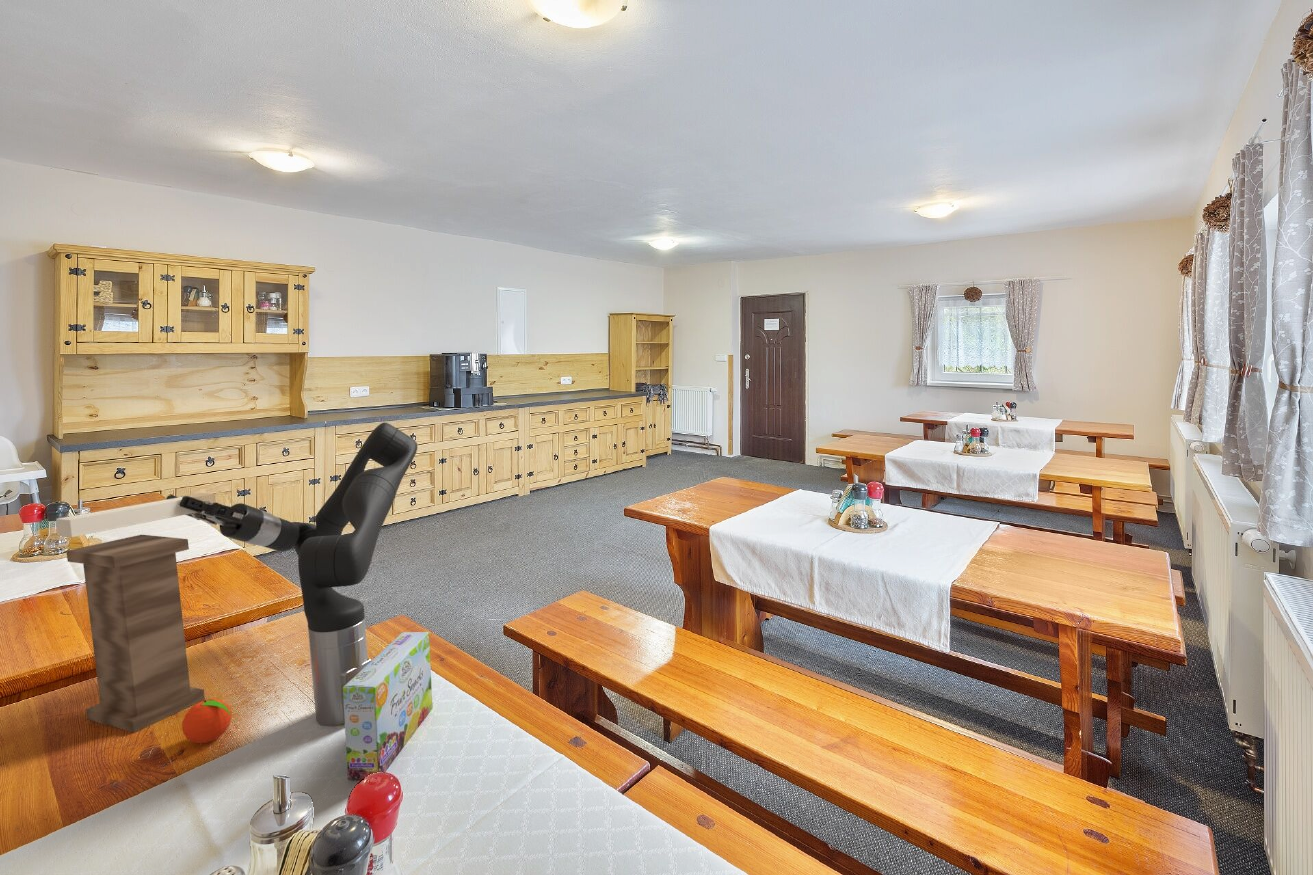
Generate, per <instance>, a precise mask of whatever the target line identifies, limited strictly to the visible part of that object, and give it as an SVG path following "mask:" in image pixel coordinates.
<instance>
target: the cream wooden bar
mask: <svg viewBox="0 0 1313 875" xmlns="http://www.w3.org/2000/svg"><path fill="white" fill-rule="evenodd" d="M184 496H185V495H182V496H181V495H180V496H178V497H179V498H173V499H167V500H166V499H163V500H156V501H151V502H144V503H139V504H133V505H127V506H124V507H123V506H121V507H115V508H110V509H106V510H100V511H95V512H94V511H93V512H89V513H88V512H87V513H83V514H78V515H77V514H76V515H70V516H64V517H60V518H59V517H58V518H55V519H56V527H57V535H58V537H65V538H66V537H67V538H75V537H80V536H81V537H82V536H85V535H91V534H94V533H95V534H97V533H101V532H105V531H110V530H115V529H121V528H126V527H130V526H131V527H132V526H135V525H140V524H145V523H150V522H155V521H156V522H157V521H160V520H165V519H171V518H175V517H180V516H187V515H186V514H191V513H199V512H200V511H199V512H196V511H193V510H190V509H187V508H183V507H181V506H180V502H181V500H182V498H183V497H184ZM186 496H189V497H192V498H195V499H198V500H201V501H209V502H210V503H217V501H216V500H217V499H216V493H212V492H211V493H208V492H200V493H194V494H187V495H186ZM203 503H204V502H203Z"/></svg>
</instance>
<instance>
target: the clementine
mask: <svg viewBox="0 0 1313 875" xmlns="http://www.w3.org/2000/svg"><path fill="white" fill-rule="evenodd" d="M232 715H233V714H232V710H231V708H230V707H229V705H228V704H227V702H225V701H223V700H220V699H216V698H208V699H204V700H202V701H200V702H198V703H196V704H194V705H192V706H191V708H189V710H187V712H186V714H185V715H184V716H183V720H182V723H181V730H182V732H183V733H182V734H183V735H184V736H185V738H186V739H187V740H189V741H191V742H192V743H196V744H206V743H210V742H213V741H215V740H217V739H219V738H220V737H221V736H222V735H223V734H225V732H226V731H227V729H228V728H229V727H230V725H231V723H232Z"/></svg>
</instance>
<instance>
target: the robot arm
mask: <svg viewBox="0 0 1313 875" xmlns="http://www.w3.org/2000/svg"><path fill="white" fill-rule="evenodd" d="M417 452H418V443H417V441H416V440H415V439H414V438H412V437H411V436H410V435H408V434H406V433H405V432H403V431H402V430H400V429H399V428H397V427H396V426H393V425H392V424H390V423H388V422H381V423H380V424H378V425H377V426H376V427H375V428H374V429H373V430H372V432H371V433H370V434H369V436H368V437H367V438H366V439H365V441H364V442H363V444H362V446H361V447H360V448H359V451H357V453H356V455H355V457H354V458H353V460H352V461H351V462H350V465H349V466H348V468H347V469H346V471H345V473H344V475H343V477H342V478H341V480H340V481H339V483H338V485H337V486H336V488H335V489H334V490H333V492H332V494H331V495H330V496H329V497H328V499H327V500H326V501H325V502H324V504H323V505H322V507H320V509H319V510H318V512H317V513H316V515H315V517H314V518H315V521H314V522H315V524H314V523H310V522H299V521H290V520H287V519H284V518H280V517H278V516H275V515H274V514H272V513H270V512H267V511H265V510H262V509H260V508H257V507H253V506H251V505H248V504H245V503H236V504H233V505H231V506H229V505H225V504H221V503H219V502H216V503H210V502H209V501H201V500H198V499H195V498H192V497H189V496H187V495H183V496H184V497H183V498H182V500H181V502H180V506H181V507H183V508H187V509H190V510H193V511H196V512H199V511H200V512H199V513H191V514H186V515H185V516H188V517H190V518H193V519H196V520H197V521H203V522H206V523H207V524H210V525H212V526H213V525H214V526H217V525H219V531H220V534H221V535H222V536H224V537H226V538H229V539H233V540H236V541H240V542H243V543H245V544H250V545H253V546H258V547H259V546H260V547H264V548H267V549H270V550H273V551H276V552H277V551H278V552H286V551H289V550H291V549H294V550H295V552H296V555H297V556H298V557H297V558H298V559H297V565H298V568H297V569H298V575H299V577H298V578H299V582H300V588H301V589H300V590H301V595H302V604H303V610H304V612H303V613H304V616H305V618H306V622H307V630H308V642H309V654H310V667H311V677H312V678H311V679H312V691H313V700H314V710H315V721H316V720H317V721H316V722H317V723H318V724H319V723H320V724H319V725H322V726H330V727H331V726H340V725H345V717H344V700H343V687H344V686H345V685H346V684H347V683H348V682H349V681H350V680H352V679H353V678H354V677H355V676H356V675H357V674H358V673H359V672H360V671H361V670H362V669H364V668H365V667H366V666H367V665H368V664H369V663H370V662H371V661H372V660H373V659H371V658H369V657H368V646H367V645H368V644H367V643H368V642H367V631H366V629H367V628H366V620H365V618H366V616H365V607H364V604H363V602H361V601H360V600H359V599H356V598H353V597H349V596H346V595H344V594H341V593H339V592H338V591H336V590H335V589H334V588H341V587H350V586H355V585H358V584H360V583H361V582H362V581H363V580H364V579H365V577H366V576H367V573H368V572H369V569H370V566H371V563H372V559H373V555H374V552H375V549H376V545H377V542H378V538H379V537H380V536H379V535H380V533H381V530H382V527H383V525H384V523H385V520H386V518H387V517H388V514H389V512H390V510H391V509H392V505H393V503H394V501H395V499H396V495H397V493H398V490H399V488H400V484H401V482H402V480H403V478H404V477H405V475H406V473H407V471H408V469H409V468H410V465H411V464H412V462H413V460H414V459H415V456H416V454H417ZM370 460H372V461H374V462H375V463H376V464H378V465H380V466H382V467H380V466H379V467H374V468H370V469H367V470H365V469H366V466H367V464H368V463H369V461H370ZM179 497H180V496H175V495H173V494H172V495H171V494H170V495H167V496H166V499H165V500H167V499H173V498H179ZM203 502H204V503H203ZM348 524H350V525H351V526H352V527H353V529H354V530H353V531H352V532H351V533H348V534H342V533H343V530H344V529H345V527H346V526H347V525H348Z"/></svg>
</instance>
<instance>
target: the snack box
mask: <svg viewBox="0 0 1313 875" xmlns="http://www.w3.org/2000/svg"><path fill="white" fill-rule="evenodd" d="M430 646H431V644H430V631H417V632H416V631H414V632H413V631H412V632H411V631H410V632H407V631H406V632H405V631H404V632H401V633H400V634H399V635H398V636H397V637H396V638H395V639H394V640H393V641H392V642H390V643H389V644H388V645H387V646H386V647H385V648H384V649H383V650H382V651H380V653H379V654H377V655H376V656H375V657H374V658H373V659H371V660H372V661H371V662H370V663H369V664H368V665H367V666H366V667H365V668H364V669H362V670H361V671H360V672H359V673H358V674H357V675H356V676H355V677H354V678H353V679H352V680H350V681H349V682H348V683H347V684H346V685H345V686H344V687H343V700H344V717H345V724H344V728H345V729H344V731H345V746H346V747H345V750H346V765H347V767H346V768H347V780H359V781H361V780H362V779H364V778H365V777H367V776H368V775H370V774H373V773H377V772H384V773H385V772H387V770H388V769H389V767H390V766H391V764H392V763H393V762H394V761H395V759H396V758H397V757H398V755H399V754H400V752H401V751H402V750H403V748H404V747H405V746H406V745H407V743H408V742H409V741H410V739H411V737H412V736H413V735H414V733H416V731H417V729H418V728H419V727H420V726H421V725H422V724H423V722H424V721H425V719H426V718H427V717H428V715H429V714H430V712H432V710H433V707H434V705H433V688H432V672H431V671H432V669H431V648H430Z"/></svg>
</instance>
